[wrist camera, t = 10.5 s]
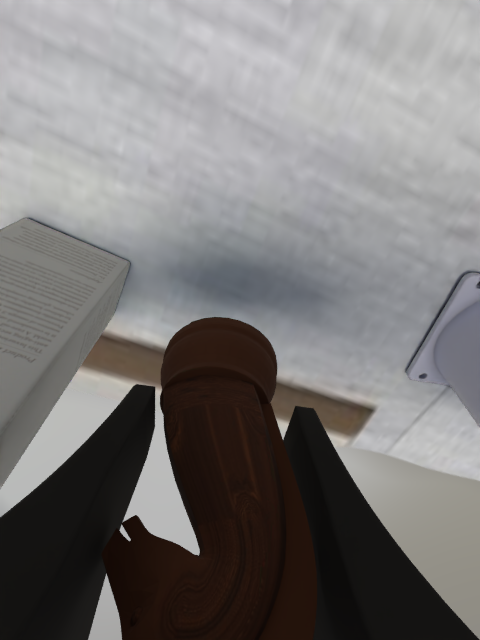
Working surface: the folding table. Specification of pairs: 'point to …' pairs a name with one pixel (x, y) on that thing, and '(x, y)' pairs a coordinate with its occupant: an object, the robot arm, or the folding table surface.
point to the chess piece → (220, 504)
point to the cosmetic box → (47, 323)
